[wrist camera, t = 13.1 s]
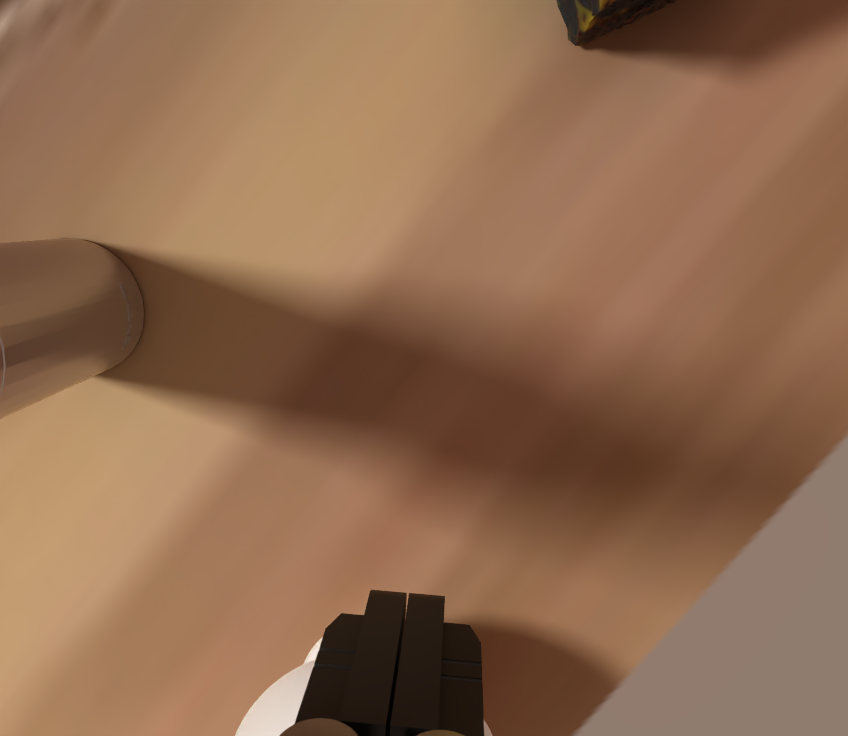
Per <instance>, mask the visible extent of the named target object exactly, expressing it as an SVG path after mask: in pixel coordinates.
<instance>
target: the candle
mask: <svg viewBox="0 0 848 736" xmlns="http://www.w3.org/2000/svg"><path fill="white" fill-rule="evenodd" d="M675 1H676V0H557V4H558V7H559V10H560V12H561V15H562V17H563V19H564V22H565V24H566V26H567V29H568V40H570V41H571V42H572V43H573V44H574V45H575V46H580V45H583V44H586V43H588V42H590V41H592V40H593V39H595V38H597V37H599V36H601V35H604V34H606V33H608V32H610V31H612V30H614V29H618V28H622V26H623V25H627V24H630V23H632V22H634V21H636V20H638V19H639V18H641V17H642V16H644V15H646V14H650V13H653V12H654V11H656V10H658V9H661V8H663V7H664V6H665V4H666V2H667V3H674V2H675Z"/></svg>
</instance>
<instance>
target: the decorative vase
mask: <svg viewBox="0 0 848 736" xmlns="http://www.w3.org/2000/svg"><path fill="white" fill-rule="evenodd" d="M322 638H323V637H322ZM322 638H321V639H320V640H319V641H318V642H317V643H316V644H315V645H314V647H313V648H312V649H311V651H310V652H309V654H308V656H307V658H306V660H305V662H304V664H303V665H301V666H299V667H297V668H296V669H294V670H292V671H290V672H289V673H287V674H286V675H284V676H283V677H281V678H280V679H279V680H277V681H276V682H275V683H274V684H272V685H271V686H270V687H269V688H268V689H267V690H266V691H265V692H264V693H263V694H262V695H261V696H260V697H259V698H258V699H257V700H256V702H255V703H254V704H253V705H252V707H251V708H250V710H249V711H248V712H247V714H246V716H245V717H244V719H243V720H242V722H241V724H240V726H239V728H238V730H237V732H236V734H235V736H280V734H281V733H283V732H284V731H285V730H286V729H287V728H289V727H290V726H292V725H294V724H295V721H296V717H297V714H298V711H299V708H300V705H301V702H302V699H303V696H304V693H305V690H306V687H307V684H308V681H309V678H310V675H311V672H312V669H313V667H314V663H315V660H316V657H317V654H318V651H319V649H320V645H321V641H322ZM484 736H493V735H492V733H491V731H490V729H489V727H488V725H487V723H486V722H485V720H484Z"/></svg>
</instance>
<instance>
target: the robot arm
mask: <svg viewBox="0 0 848 736" xmlns="http://www.w3.org/2000/svg"><path fill="white" fill-rule="evenodd" d="M143 323H144V307H143V300H142V296H141V293H140V290H139V287H138V285H137V283H136V281H135V279H134V277H133V276H132V274H131V272H130V271H129V270H128V268H127V267H126V266H125V265H124V264H123V263H122V261H121V260H120V259H119V258H117V257H116V256H115V255H113V254H112V253H111V252H110V251H108V250H107V249H105V248H103V247H101V246H99V245H97V244H95V243H92V242H89V241H85V240H82V239H71V238H62V239H50V240H37V241H22V242H10V243H0V419H1V418H3V417H5V416H8V415H10V414H12V413H14V412H16V411H18V410H21V409H23V408H25V407H27V406H29V405H32V404H34V403H36V402H38V401H40V400H42V399H45V398H47V397H49V396H51V395H53V394H56V393H58V392H60V391H62V390H64V389H66V388H69V387H71V386H73V385H75V384H78V383H80V382H82V381H84V380H87V379H89V378H91V377H93V376H95V375H97V374H100V373H102V372H104V371H106V370H108V369H111V368H113V367H114V366H116V365H117V364H119V363H120V362H122V361H124V360H125V359H126V358H127V356H128V355H129V354H130V353H131V352H132V351H133V350H134V348H135V346H136V344H137V343H138V341H139V339H140V336H141V332H142V329H143ZM444 603H445V596H437V595H426V594H414V593H409V598H408V605H407V612H406V593H402V592H391V591H380V590H371V591H370V594H369V598H368V602H367V606H366V610H365V614H364V615H354V614H343V613H341V614H340V615H339V616H338V617H337V618H336V619H335V620H334V621H333V622H332V623H331V624H330V625H329V626H328V627H327V628H326V629H325V632H324V635H323V638H322V641H321V645H320V649H319V651H318V654H317V657H316V660H315V663H314V667H313V669H312V672H311V675H310V678H309V681H308V684H307V687H306V690H305V693H304V696H303V699H302V702H301V705H300V708H299V711H298V714H297V717H296V721H295V724H294V725H292V726H290V727H289V728H287V729H286V730H285V731H284V732H283V733H281V734H280V736H484V716H483V688H482V666H481V663H482V661H481V642H480V641H479V639H478V638H477V636H476V634H475V633H474V631H473V630H472V628H471V626H470V625H465V624H454V623H444ZM405 614H406V619H405Z"/></svg>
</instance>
